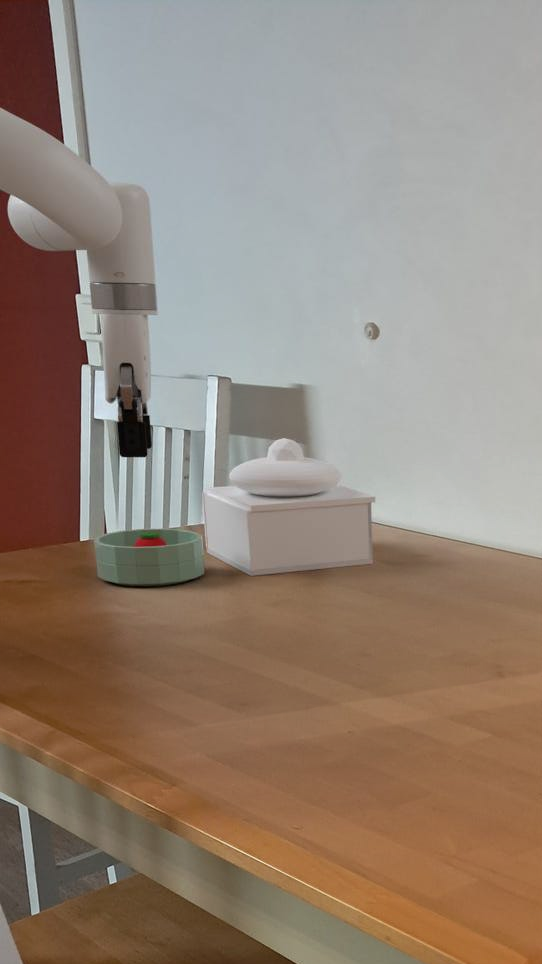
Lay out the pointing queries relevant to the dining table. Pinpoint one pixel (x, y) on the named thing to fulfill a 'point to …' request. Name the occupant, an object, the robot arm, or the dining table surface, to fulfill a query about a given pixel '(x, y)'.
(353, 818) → the dining table surface
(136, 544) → the strawberry
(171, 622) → the dining table surface
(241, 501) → the white lidded box
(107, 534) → the dessert bowl
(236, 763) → the dining table surface
